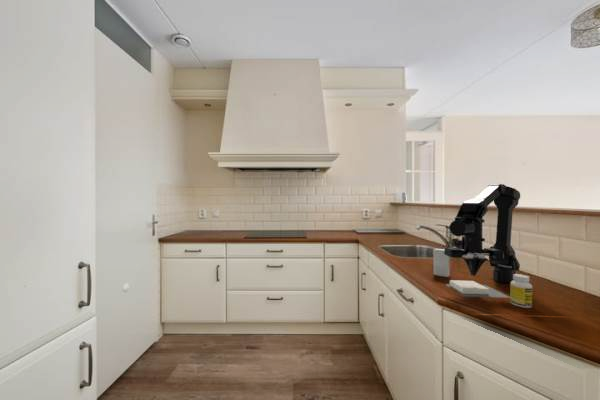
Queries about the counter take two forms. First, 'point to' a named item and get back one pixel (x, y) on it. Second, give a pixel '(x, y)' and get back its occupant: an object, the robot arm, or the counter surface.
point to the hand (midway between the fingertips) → (473, 275)
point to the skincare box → (440, 263)
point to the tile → (469, 287)
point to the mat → (491, 294)
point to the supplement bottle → (521, 291)
